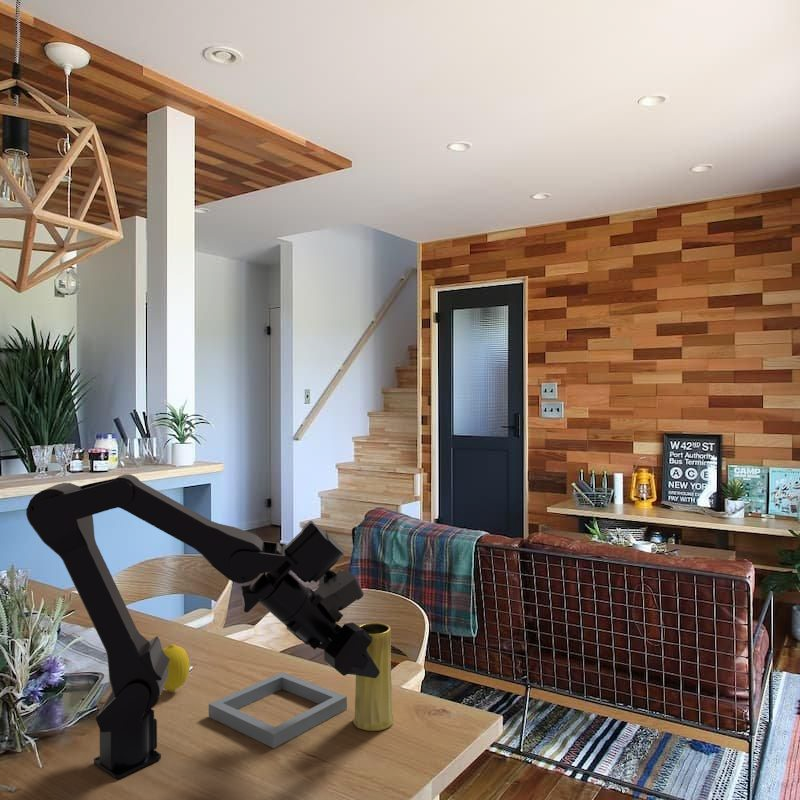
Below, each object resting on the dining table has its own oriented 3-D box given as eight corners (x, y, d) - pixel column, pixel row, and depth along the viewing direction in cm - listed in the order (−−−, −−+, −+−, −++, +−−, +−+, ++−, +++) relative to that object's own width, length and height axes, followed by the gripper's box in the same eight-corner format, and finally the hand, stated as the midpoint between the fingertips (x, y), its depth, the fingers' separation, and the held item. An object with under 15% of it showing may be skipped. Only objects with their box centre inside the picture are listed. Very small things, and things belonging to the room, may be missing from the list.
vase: (395, 713, 106) (395, 621, 106) (391, 733, 100) (391, 636, 100) (357, 711, 107) (356, 620, 106) (350, 731, 101) (349, 634, 100)
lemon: (179, 700, 110) (178, 651, 110) (148, 697, 112) (147, 649, 111) (195, 686, 116) (195, 639, 116) (166, 683, 117) (165, 637, 117)
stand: (273, 748, 96) (273, 734, 96) (208, 716, 105) (208, 703, 105) (346, 709, 107) (346, 696, 107) (282, 683, 117) (282, 671, 117)
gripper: (358, 572, 91) (428, 638, 97) (304, 545, 107) (367, 603, 113) (303, 642, 87) (380, 706, 93) (256, 603, 103) (324, 660, 109)
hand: (362, 664), depth 102 cm, fingers open, 9 cm apart
